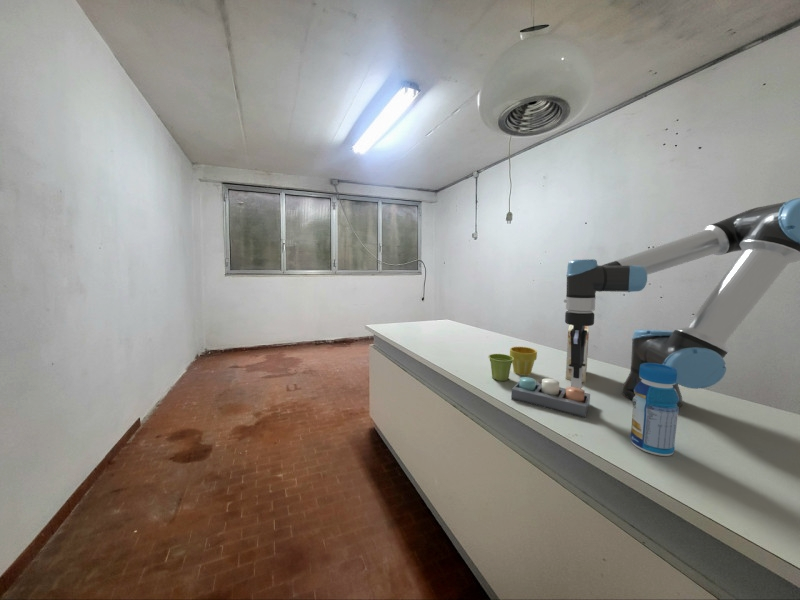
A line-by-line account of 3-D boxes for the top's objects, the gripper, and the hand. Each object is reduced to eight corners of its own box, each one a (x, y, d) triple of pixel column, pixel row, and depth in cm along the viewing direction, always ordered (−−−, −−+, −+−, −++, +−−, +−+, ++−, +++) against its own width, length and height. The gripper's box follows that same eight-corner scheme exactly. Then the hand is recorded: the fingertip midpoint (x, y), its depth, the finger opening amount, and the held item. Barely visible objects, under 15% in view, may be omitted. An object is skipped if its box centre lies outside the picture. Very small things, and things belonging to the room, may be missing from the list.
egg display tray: (589, 404, 95) (590, 393, 95) (585, 418, 86) (585, 406, 86) (521, 388, 108) (521, 379, 108) (511, 399, 99) (511, 388, 99)
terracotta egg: (584, 403, 93) (585, 389, 93) (582, 408, 89) (583, 394, 89) (566, 398, 96) (567, 385, 96) (563, 404, 92) (564, 390, 92)
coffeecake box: (586, 382, 113) (589, 332, 111) (564, 379, 117) (567, 330, 115) (586, 371, 126) (589, 325, 124) (566, 368, 129) (569, 323, 127)
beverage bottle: (662, 461, 67) (670, 375, 65) (621, 441, 75) (627, 364, 73) (682, 452, 70) (690, 369, 68) (641, 434, 78) (647, 359, 76)
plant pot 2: (540, 377, 119) (541, 353, 118) (514, 377, 119) (515, 353, 118) (529, 368, 130) (530, 346, 128) (505, 368, 130) (506, 346, 129)
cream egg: (560, 393, 97) (560, 380, 97) (556, 399, 93) (557, 385, 93) (543, 389, 100) (543, 377, 100) (539, 394, 97) (540, 381, 96)
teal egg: (536, 391, 102) (537, 379, 101) (533, 396, 98) (533, 383, 97) (521, 388, 105) (522, 376, 104) (517, 393, 101) (517, 380, 100)
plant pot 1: (509, 374, 122) (510, 353, 121) (516, 383, 113) (516, 361, 112) (486, 373, 123) (486, 353, 122) (490, 382, 114) (491, 360, 113)
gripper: (569, 308, 97) (566, 378, 100) (561, 313, 87) (558, 391, 89) (596, 309, 93) (593, 383, 95) (592, 315, 82) (587, 397, 85)
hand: (576, 386), depth 92 cm, fingers closed
